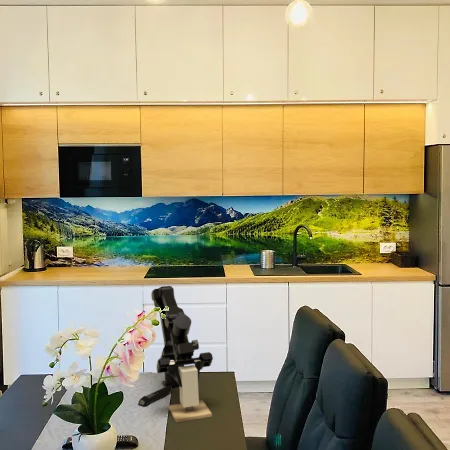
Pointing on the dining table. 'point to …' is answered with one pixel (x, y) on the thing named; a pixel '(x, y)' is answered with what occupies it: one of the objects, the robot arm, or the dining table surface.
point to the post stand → (189, 412)
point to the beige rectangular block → (189, 386)
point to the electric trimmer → (154, 396)
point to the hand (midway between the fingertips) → (189, 385)
